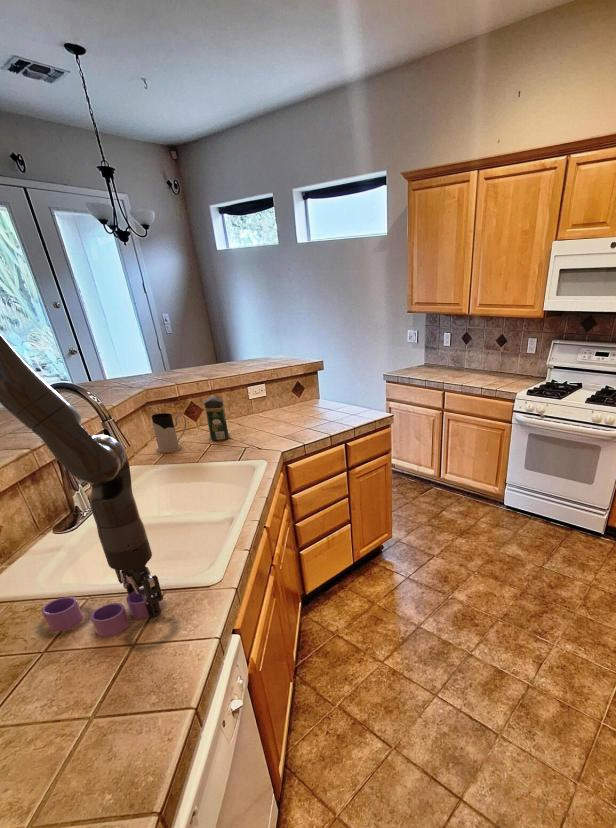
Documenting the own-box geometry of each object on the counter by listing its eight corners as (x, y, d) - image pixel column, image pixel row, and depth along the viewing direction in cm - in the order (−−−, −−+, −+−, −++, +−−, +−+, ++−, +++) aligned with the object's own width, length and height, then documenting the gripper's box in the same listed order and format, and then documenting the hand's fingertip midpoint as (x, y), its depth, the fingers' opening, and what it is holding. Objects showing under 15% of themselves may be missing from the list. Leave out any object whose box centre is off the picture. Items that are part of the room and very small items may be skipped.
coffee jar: (211, 435, 203) (204, 396, 195) (229, 434, 206) (222, 395, 197) (209, 441, 195) (202, 400, 187) (228, 440, 197) (221, 399, 189)
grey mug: (153, 450, 182) (145, 415, 176) (184, 442, 193) (177, 409, 186) (165, 454, 178) (157, 419, 171) (196, 446, 189) (189, 412, 182)
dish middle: (92, 630, 85) (85, 613, 83) (121, 615, 89) (116, 599, 87) (105, 642, 82) (98, 625, 80) (135, 626, 86) (129, 610, 84)
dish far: (126, 613, 90) (121, 596, 88) (153, 599, 94) (148, 584, 92) (140, 623, 87) (134, 607, 85) (167, 609, 91) (162, 593, 89)
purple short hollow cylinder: (44, 623, 86) (36, 607, 84) (76, 609, 90) (69, 593, 88) (55, 635, 83) (48, 618, 81) (87, 620, 87) (81, 603, 85)
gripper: (86, 536, 83) (111, 604, 91) (122, 561, 76) (145, 632, 84) (126, 522, 89) (146, 587, 96) (163, 544, 82) (182, 612, 89)
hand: (146, 608), depth 90 cm, fingers open, 7 cm apart
